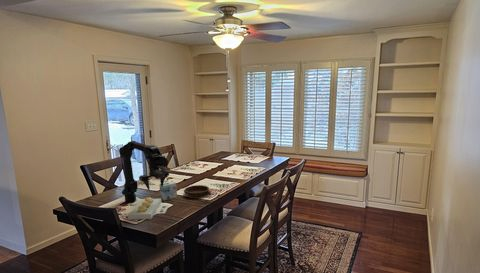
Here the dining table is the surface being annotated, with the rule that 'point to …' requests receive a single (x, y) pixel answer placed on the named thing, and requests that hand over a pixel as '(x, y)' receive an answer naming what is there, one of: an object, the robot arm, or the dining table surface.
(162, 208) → the card
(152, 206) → the board
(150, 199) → the button
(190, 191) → the dish
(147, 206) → the button
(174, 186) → the light bulb box
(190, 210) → the dining table surface
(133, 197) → the robot arm
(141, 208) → the button
